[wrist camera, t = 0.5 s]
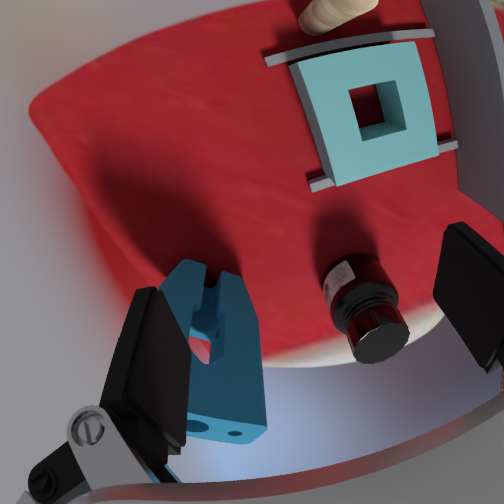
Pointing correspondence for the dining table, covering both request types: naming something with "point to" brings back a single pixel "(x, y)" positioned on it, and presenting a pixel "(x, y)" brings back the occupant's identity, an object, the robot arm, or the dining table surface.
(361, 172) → the socket block
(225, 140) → the dining table surface
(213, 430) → the block
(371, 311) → the ink bottle
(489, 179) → the backstop wall
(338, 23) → the dowel
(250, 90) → the dining table surface
